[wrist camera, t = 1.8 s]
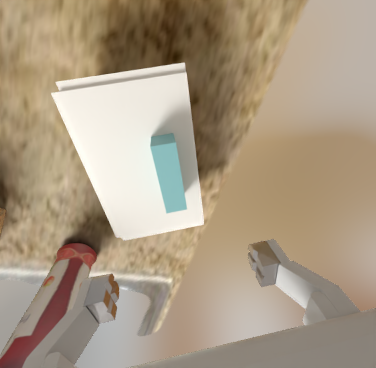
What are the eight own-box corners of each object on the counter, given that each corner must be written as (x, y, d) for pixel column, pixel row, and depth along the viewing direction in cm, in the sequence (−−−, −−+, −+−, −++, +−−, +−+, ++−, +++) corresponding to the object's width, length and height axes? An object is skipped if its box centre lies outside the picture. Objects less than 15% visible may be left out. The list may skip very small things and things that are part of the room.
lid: (58, 82, 19) (23, 85, 14) (181, 63, 20) (190, 60, 15) (120, 230, 30) (113, 263, 25) (200, 214, 31) (209, 242, 25)
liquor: (65, 232, 35) (-127, 575, 11) (105, 244, 38) (19, 539, 14) (53, 257, 38) (-123, 580, 14) (91, 267, 41) (0, 549, 17)
